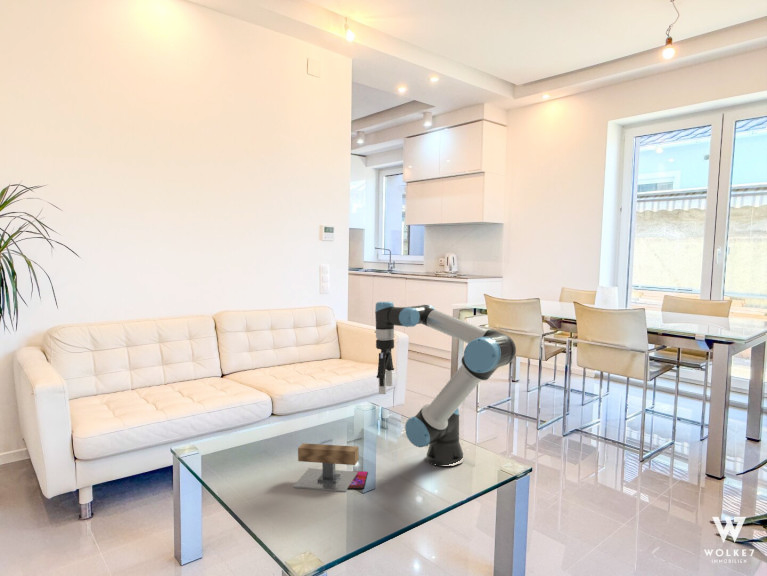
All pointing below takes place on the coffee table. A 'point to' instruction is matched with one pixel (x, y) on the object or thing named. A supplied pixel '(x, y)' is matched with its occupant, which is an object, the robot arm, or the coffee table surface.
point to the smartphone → (358, 481)
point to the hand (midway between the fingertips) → (385, 389)
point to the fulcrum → (326, 479)
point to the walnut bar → (328, 454)
